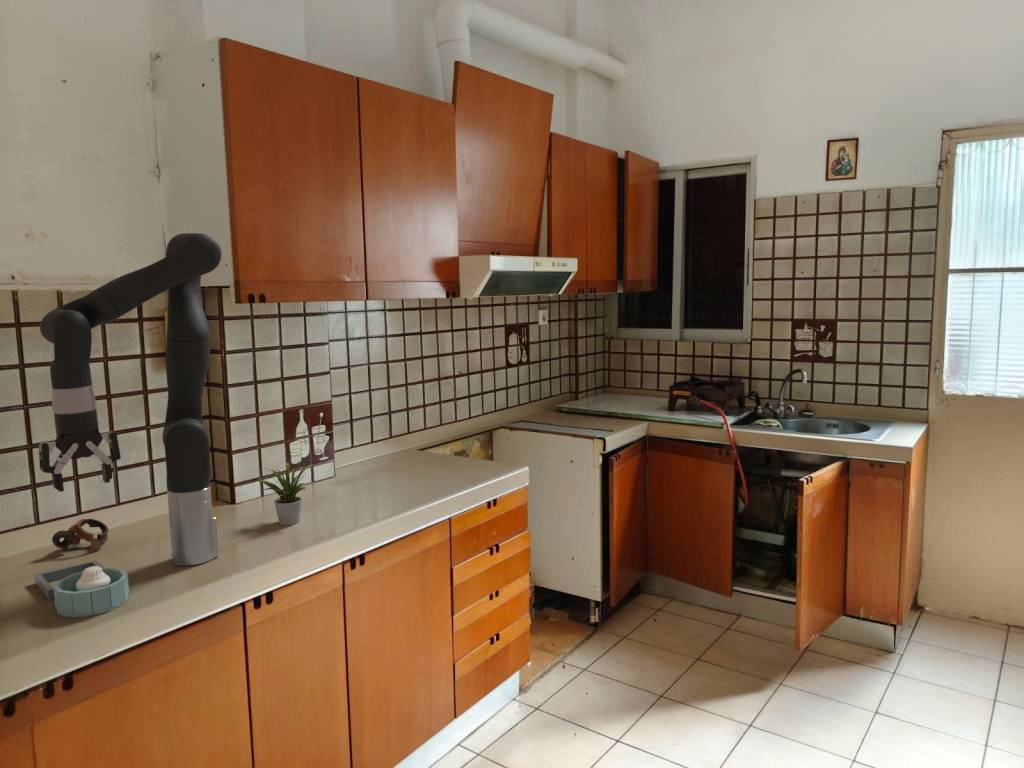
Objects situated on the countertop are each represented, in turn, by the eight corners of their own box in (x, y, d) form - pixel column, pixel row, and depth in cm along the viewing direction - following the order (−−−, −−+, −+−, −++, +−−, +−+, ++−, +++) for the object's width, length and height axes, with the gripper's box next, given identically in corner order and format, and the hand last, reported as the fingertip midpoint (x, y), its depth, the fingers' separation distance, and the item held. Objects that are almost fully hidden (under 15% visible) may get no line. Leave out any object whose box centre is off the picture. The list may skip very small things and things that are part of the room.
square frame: (96, 568, 169) (96, 559, 169) (112, 583, 161) (112, 574, 160) (35, 583, 161) (34, 574, 161) (49, 599, 152) (48, 590, 152)
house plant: (300, 509, 212) (297, 453, 210) (329, 519, 203) (326, 460, 200) (254, 521, 201) (251, 462, 199) (282, 532, 192) (279, 471, 190)
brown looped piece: (88, 541, 189) (101, 514, 187) (105, 564, 184) (119, 537, 183) (39, 544, 178) (53, 515, 177) (55, 568, 174) (70, 539, 172)
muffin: (76, 597, 151) (73, 564, 150) (110, 590, 155) (107, 558, 154) (78, 608, 146) (75, 574, 145) (113, 600, 150) (110, 567, 149)
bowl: (117, 585, 159) (115, 563, 158) (136, 603, 150) (134, 580, 149) (50, 603, 151) (47, 580, 150) (66, 623, 142) (63, 598, 141)
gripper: (39, 416, 143) (49, 497, 145) (119, 405, 153) (127, 482, 155) (29, 412, 148) (39, 490, 151) (107, 402, 158) (115, 476, 161)
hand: (84, 486), depth 153 cm, fingers open, 8 cm apart
